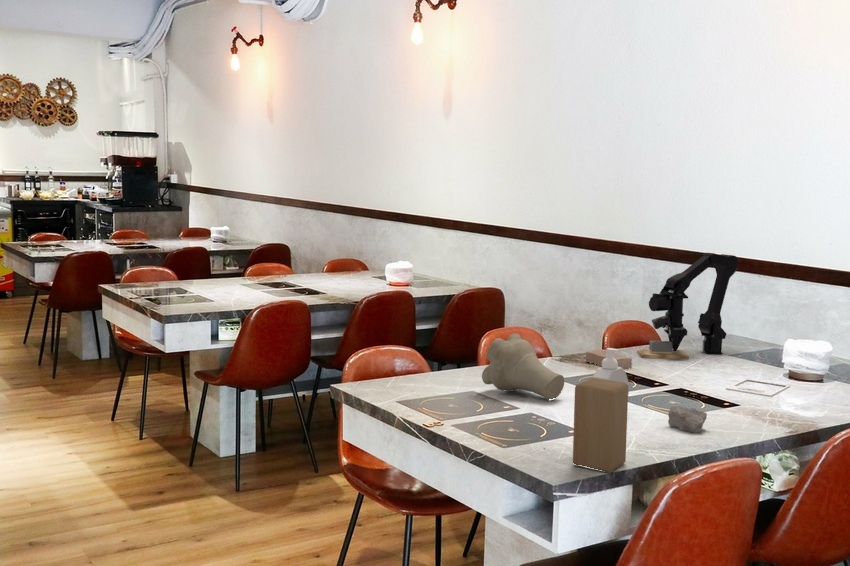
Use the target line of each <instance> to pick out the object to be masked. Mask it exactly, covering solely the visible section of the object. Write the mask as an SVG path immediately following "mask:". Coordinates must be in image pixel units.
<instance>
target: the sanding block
mask: <svg viewBox="0 0 850 566" xmlns="http://www.w3.org/2000/svg"><path fill="white" fill-rule="evenodd" d="M648 349H649V351H650V352H651V353H664V354H672V353H673V345H672V342H671V341H669V340H649V347H648Z"/></svg>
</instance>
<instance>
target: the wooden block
mask: <svg viewBox="0 0 850 566" xmlns="http://www.w3.org/2000/svg"><path fill="white" fill-rule="evenodd" d="M628 389H629V383H628V384H626V383H624V382H617V381H611V380H604V379H597V378H592V377H591V378H589V379H587V380H584V381H582V382H580V383H577V384H576V385H575V386H574V407H573V409H574V413H573V439H572V440H573V441H572V443H573V444H572V464H573V463H574V464H576V465H582V466H587V467H590V468H594V469H598V470H602V471H605V472H604V473H607V472H610V473H612V472H614V471H615V470H617V469H618V468H620V467H621V466H623V465H624V464H625V463H626V460H627V459H626V458H627V455H626V454H627V434H628V432H627V429H628V408H629V407H628V403H629V400H628V399H629V393H628ZM622 464H623V465H622ZM619 466H620V467H619ZM617 467H618V468H617ZM616 468H617V469H616ZM613 470H614V471H613ZM602 471H601V472H602Z"/></svg>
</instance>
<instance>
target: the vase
mask: <svg viewBox="0 0 850 566" xmlns="http://www.w3.org/2000/svg"><path fill="white" fill-rule="evenodd" d="M486 351H487V352H486V355H485V356H486V358H487V360H488V361H489V364H488V365H487V366H486V367H485V368H484V369H483V371H482V373H481V379H482V382H483V383H484V385H493V386H494V387H495V388H496V389H498V390H501V391H503V390H506V391H505V392H513V391H514V390H515V391H528V392H532V394H536V395H538V396H540V397H543V398H544V399H545V400H547V401H548V400H549V399H553V398H556V397H557V398H558V397H559V396H560V395H561V393H562V391H563V390H564V386H565V377H564V376H563V375H562V374H561V373H560V374H559V373H558V372H555V371H554V370H552V369H550V368H548V367H547V366H546V365H544V364H543V363H542V362H541V361H540V360H539V357H538V356H537V353H536V351H535V349H534V347H533V345H532V344H531V343H530V342H529V341H527V340H526V339H523V338H522V337H521V335H520V334H519V333H511V334H509V336H507V338H506V340H505V339H503V338H500V337H498V338H497V337H496V338H495V339H494V340H493V341H492V342H491V344H490V345H489V347H488V349H487V350H486ZM512 390H513V391H512ZM557 398H556V399H557Z"/></svg>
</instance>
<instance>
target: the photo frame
mask: <svg viewBox="0 0 850 566" xmlns="http://www.w3.org/2000/svg"><path fill="white" fill-rule="evenodd" d="M746 382H754V383H760V384H767V385H773V386H774V385H775V386H781V389H778V390H777V391H769V390H764V389H756V388H751V387H747V386H746V387H744V386H739V385H741V384H744V383H746ZM789 388H791V386H790V385H787V384H782V383H776V382H775V383H773V382H768V381H761V380H755V379H747V378H745V379H743V380H741V381H739V382H736V383H734V384H732V385H729V386H727V387H725V390H726V391H732V392H738V393H745V394H749V395H755V396H756V395H757V396H762V397H767V398H772V397H774V396H776V395H778V394H780V393H782V392H783V391H785V390H788V389H789Z"/></svg>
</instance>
